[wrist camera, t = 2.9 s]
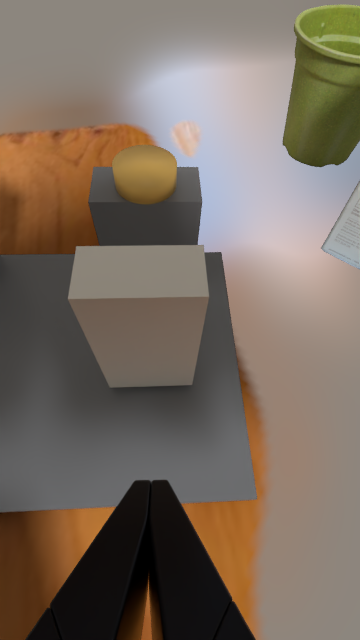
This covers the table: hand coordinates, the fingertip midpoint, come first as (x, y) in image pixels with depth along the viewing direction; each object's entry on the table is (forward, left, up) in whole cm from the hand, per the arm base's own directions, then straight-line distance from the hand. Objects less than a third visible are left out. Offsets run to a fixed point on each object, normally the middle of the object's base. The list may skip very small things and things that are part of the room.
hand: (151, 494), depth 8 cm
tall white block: (+6, 0, -6) cm, 8 cm away
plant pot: (+28, -15, -8) cm, 33 cm away
